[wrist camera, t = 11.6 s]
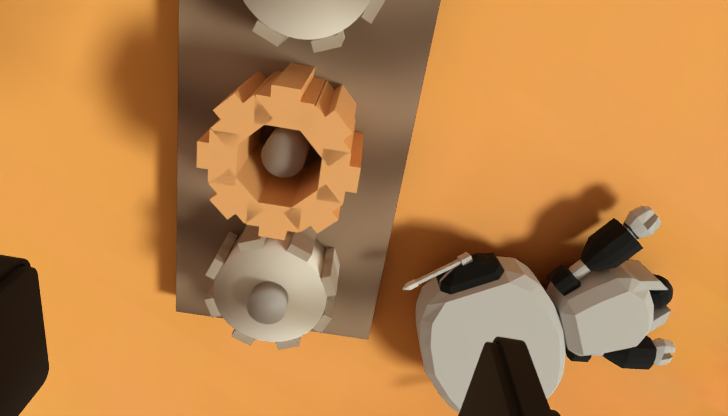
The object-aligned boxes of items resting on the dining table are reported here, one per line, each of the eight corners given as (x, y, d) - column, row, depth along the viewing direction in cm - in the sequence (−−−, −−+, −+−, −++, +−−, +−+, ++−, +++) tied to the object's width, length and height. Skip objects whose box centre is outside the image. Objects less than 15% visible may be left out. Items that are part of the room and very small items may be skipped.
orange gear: (231, 52, 25) (199, 72, 21) (373, 77, 25) (372, 101, 21) (224, 183, 28) (195, 226, 24) (351, 203, 28) (346, 249, 24)
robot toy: (632, 175, 30) (387, 255, 31) (679, 206, 26) (394, 296, 27) (654, 335, 35) (441, 398, 36) (696, 383, 31) (454, 452, 32)
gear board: (192, -172, 22) (140, -210, 18) (461, -120, 23) (485, -143, 18) (184, 297, 33) (150, 356, 28) (368, 324, 34) (367, 386, 29)
